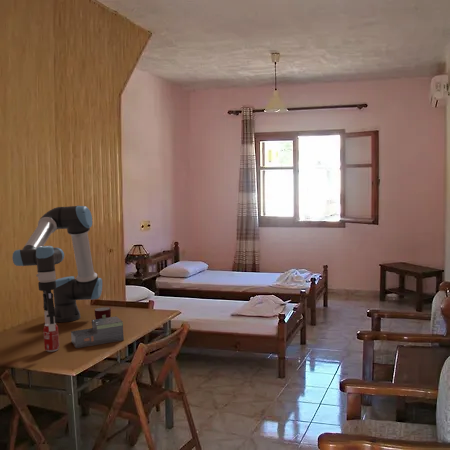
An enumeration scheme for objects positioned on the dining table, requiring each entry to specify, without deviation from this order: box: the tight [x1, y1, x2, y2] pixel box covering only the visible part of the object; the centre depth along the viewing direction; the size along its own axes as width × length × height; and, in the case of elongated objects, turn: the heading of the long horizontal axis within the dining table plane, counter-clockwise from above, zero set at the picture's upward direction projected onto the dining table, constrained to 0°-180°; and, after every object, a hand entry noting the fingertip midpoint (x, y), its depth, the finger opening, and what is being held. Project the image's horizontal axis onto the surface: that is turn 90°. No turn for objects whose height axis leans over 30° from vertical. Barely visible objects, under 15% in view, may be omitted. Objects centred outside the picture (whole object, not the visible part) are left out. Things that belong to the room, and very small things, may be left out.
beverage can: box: [42, 322, 60, 353], centre depth 249 cm, size 6×6×12 cm
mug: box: [94, 306, 112, 319], centre depth 282 cm, size 11×8×10 cm
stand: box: [70, 315, 125, 349], centre depth 260 cm, size 13×22×12 cm, turn 115°
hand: (50, 327), depth 248 cm, fingers open, 13 cm apart
